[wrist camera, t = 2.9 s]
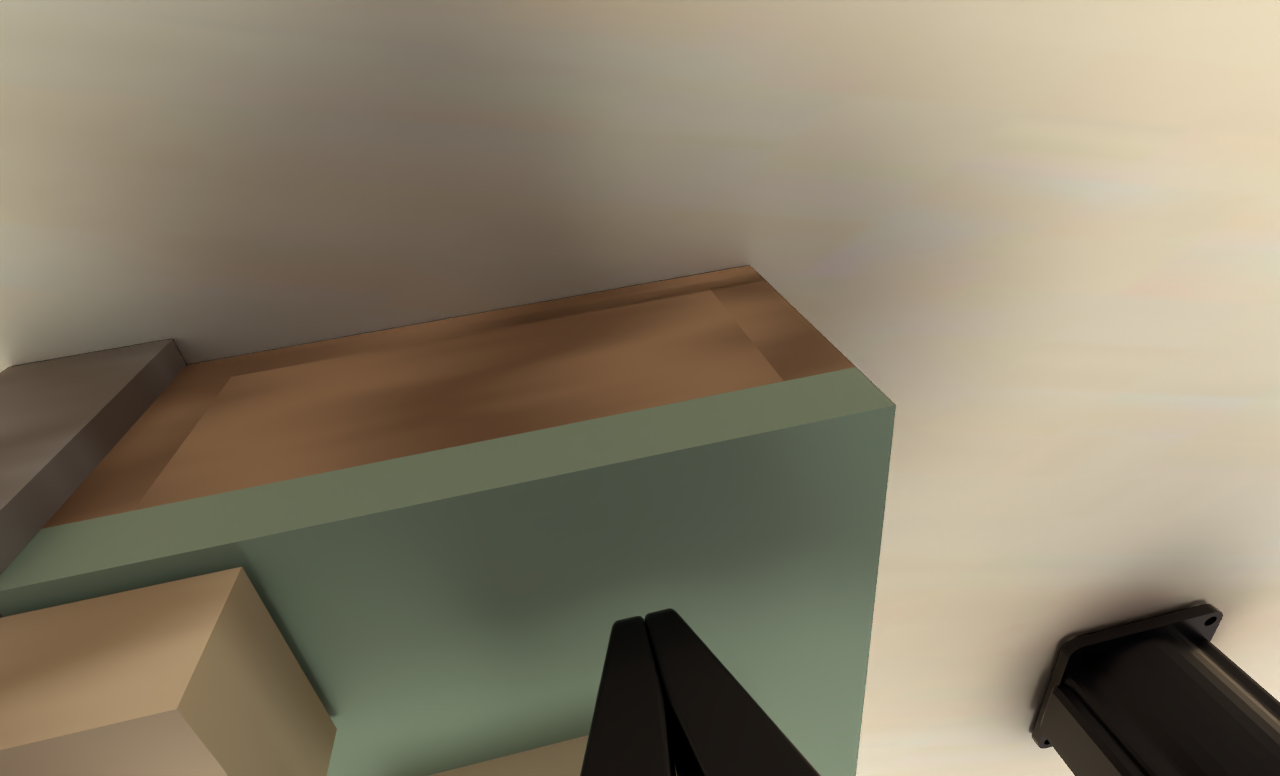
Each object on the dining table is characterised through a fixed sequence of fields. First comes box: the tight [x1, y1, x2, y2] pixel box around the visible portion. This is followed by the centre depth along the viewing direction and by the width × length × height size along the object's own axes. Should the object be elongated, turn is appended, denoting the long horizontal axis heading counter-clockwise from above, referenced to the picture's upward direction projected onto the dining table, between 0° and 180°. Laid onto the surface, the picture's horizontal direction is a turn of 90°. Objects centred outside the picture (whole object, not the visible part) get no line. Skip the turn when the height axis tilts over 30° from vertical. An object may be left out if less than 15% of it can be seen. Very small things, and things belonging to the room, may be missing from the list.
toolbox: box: [0, 265, 855, 618], centre depth 15 cm, size 15×15×6 cm
